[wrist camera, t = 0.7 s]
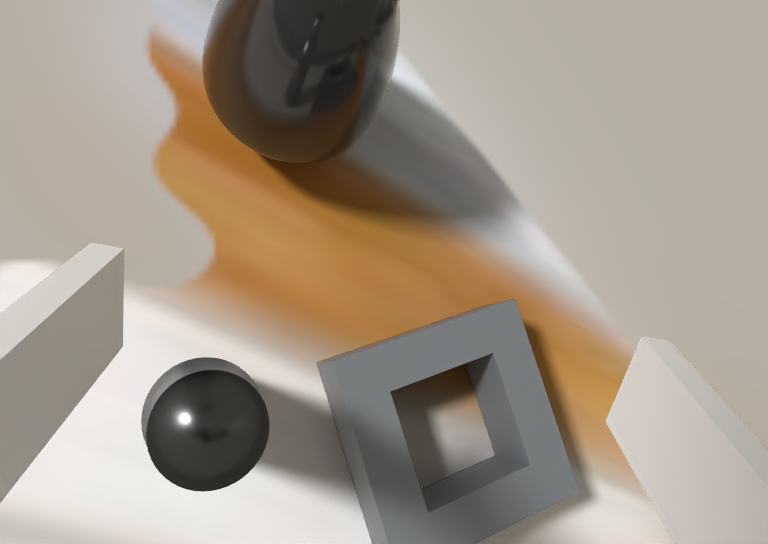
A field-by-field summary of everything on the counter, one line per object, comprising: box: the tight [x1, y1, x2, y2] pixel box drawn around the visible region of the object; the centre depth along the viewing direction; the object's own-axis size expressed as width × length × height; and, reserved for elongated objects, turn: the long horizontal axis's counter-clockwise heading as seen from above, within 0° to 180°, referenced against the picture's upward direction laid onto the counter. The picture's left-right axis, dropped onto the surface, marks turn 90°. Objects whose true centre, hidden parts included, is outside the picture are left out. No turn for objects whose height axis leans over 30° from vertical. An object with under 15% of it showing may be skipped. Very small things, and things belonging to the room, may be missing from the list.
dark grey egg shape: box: [202, 0, 400, 163], centre depth 30 cm, size 10×10×15 cm
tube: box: [141, 358, 269, 491], centre depth 24 cm, size 4×4×17 cm
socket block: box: [316, 299, 579, 544], centre depth 34 cm, size 12×12×4 cm
